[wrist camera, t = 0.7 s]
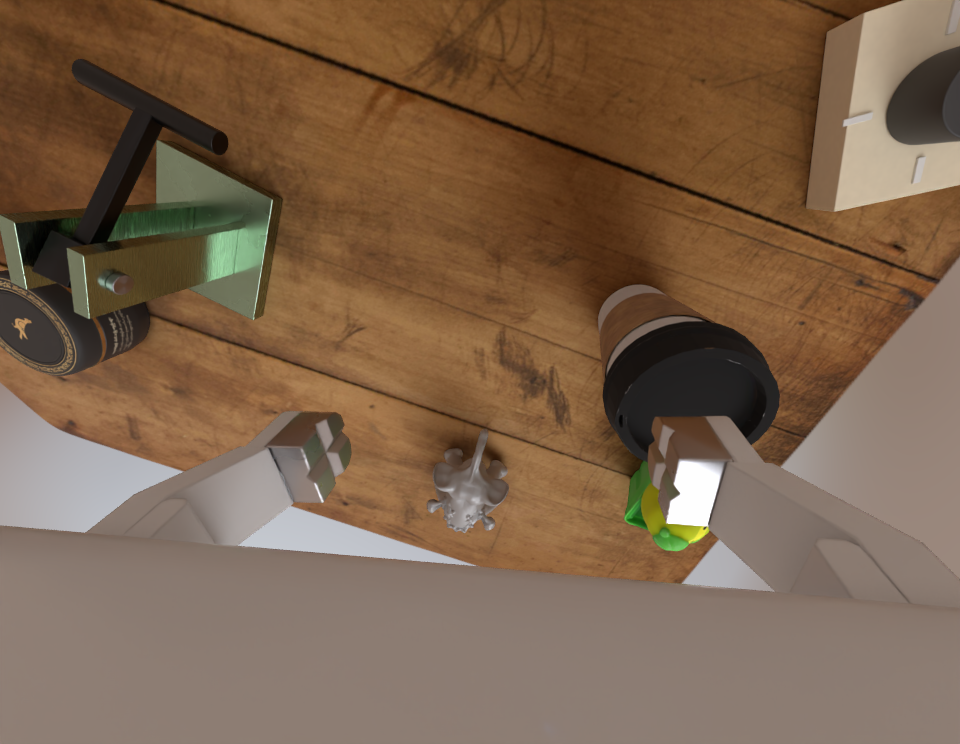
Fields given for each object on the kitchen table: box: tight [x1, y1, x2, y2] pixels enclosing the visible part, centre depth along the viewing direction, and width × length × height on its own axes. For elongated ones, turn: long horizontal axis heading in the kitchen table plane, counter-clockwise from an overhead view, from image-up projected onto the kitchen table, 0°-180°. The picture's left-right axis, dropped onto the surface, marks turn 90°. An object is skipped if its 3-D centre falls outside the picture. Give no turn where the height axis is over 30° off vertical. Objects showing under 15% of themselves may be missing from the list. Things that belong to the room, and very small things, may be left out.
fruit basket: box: [624, 461, 710, 551], centre depth 33 cm, size 11×9×11 cm
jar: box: [0, 269, 150, 376], centre depth 36 cm, size 10×10×8 cm
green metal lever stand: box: [0, 140, 283, 320], centre depth 28 cm, size 12×10×14 cm
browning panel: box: [806, 0, 960, 212], centre depth 22 cm, size 10×9×3 cm
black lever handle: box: [32, 59, 228, 288], centre depth 24 cm, size 13×9×2 cm
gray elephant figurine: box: [427, 429, 509, 533], centre depth 38 cm, size 9×12×8 cm
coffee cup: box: [598, 285, 780, 462], centre depth 25 cm, size 8×8×15 cm
